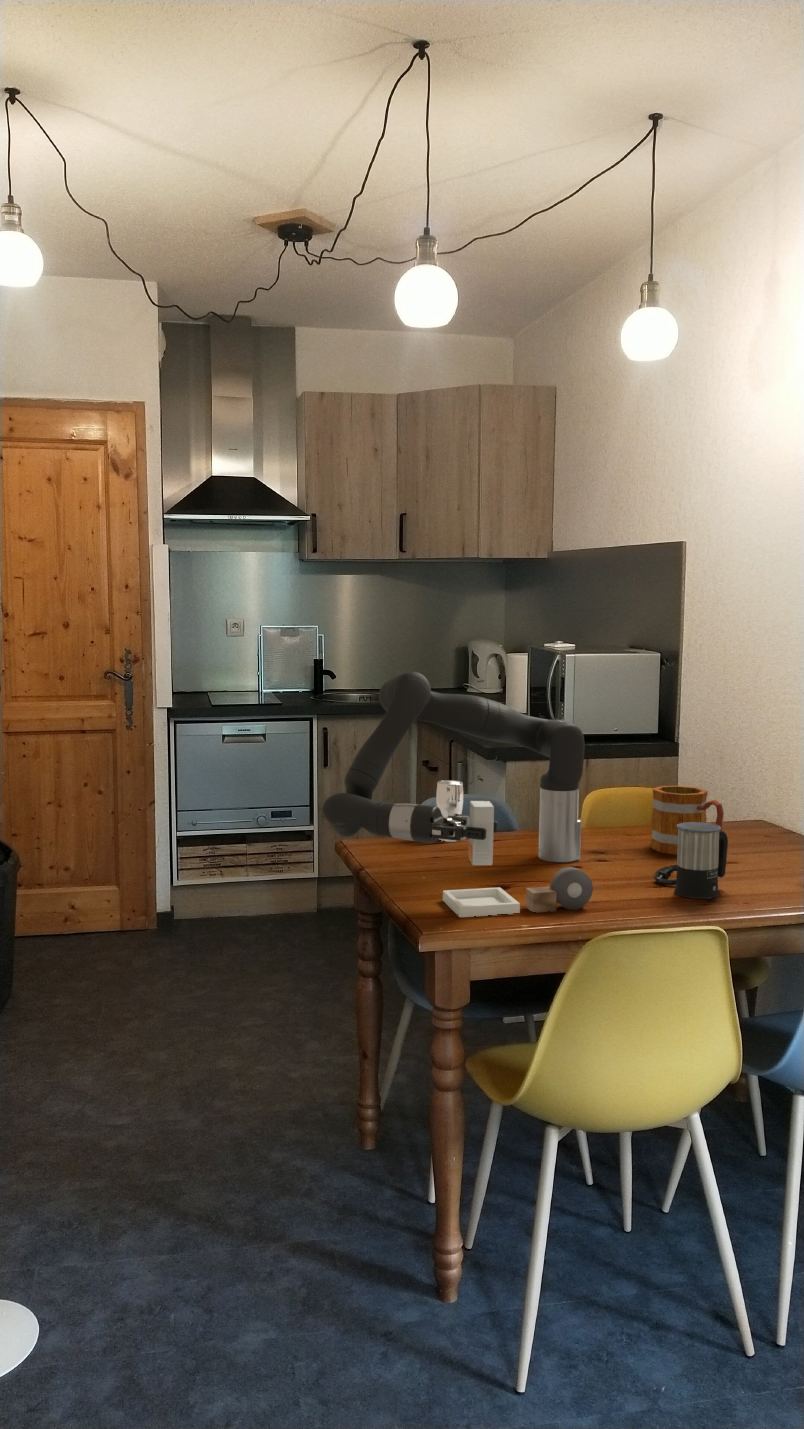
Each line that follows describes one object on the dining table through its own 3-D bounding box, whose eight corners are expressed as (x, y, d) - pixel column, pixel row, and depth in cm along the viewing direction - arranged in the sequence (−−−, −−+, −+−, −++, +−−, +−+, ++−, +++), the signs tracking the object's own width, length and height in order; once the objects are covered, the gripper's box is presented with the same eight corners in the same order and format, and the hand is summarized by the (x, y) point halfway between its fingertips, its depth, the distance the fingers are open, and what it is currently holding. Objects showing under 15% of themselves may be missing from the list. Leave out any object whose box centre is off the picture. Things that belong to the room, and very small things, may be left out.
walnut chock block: (548, 905, 224) (549, 886, 224) (556, 911, 220) (556, 891, 220) (525, 907, 223) (526, 887, 223) (532, 912, 219) (533, 893, 219)
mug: (639, 847, 278) (641, 788, 276) (673, 840, 286) (675, 783, 284) (702, 862, 262) (705, 800, 261) (737, 855, 270) (740, 795, 269)
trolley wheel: (585, 903, 226) (586, 865, 225) (592, 908, 222) (593, 870, 222) (549, 906, 224) (550, 867, 223) (555, 910, 221) (556, 872, 220)
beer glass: (465, 837, 287) (466, 781, 285) (458, 843, 280) (459, 785, 278) (440, 835, 289) (441, 779, 287) (432, 841, 282) (433, 783, 281)
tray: (499, 897, 230) (499, 887, 230) (519, 913, 218) (519, 903, 218) (442, 900, 227) (442, 890, 227) (459, 917, 215) (460, 907, 215)
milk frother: (711, 902, 228) (713, 832, 226) (638, 891, 236) (640, 823, 235) (730, 887, 240) (733, 820, 238) (660, 877, 248) (663, 812, 247)
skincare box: (467, 858, 225) (469, 800, 223) (488, 858, 225) (490, 800, 224) (471, 865, 219) (473, 806, 217) (493, 865, 219) (495, 806, 218)
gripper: (402, 810, 220) (481, 818, 213) (428, 798, 233) (503, 806, 227) (401, 847, 220) (479, 856, 214) (427, 833, 234) (501, 841, 227)
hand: (491, 830), depth 220 cm, fingers closed on skincare box, 7 cm apart
